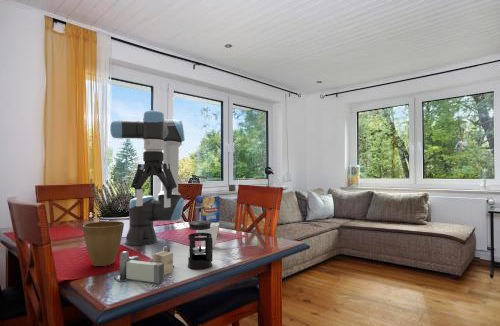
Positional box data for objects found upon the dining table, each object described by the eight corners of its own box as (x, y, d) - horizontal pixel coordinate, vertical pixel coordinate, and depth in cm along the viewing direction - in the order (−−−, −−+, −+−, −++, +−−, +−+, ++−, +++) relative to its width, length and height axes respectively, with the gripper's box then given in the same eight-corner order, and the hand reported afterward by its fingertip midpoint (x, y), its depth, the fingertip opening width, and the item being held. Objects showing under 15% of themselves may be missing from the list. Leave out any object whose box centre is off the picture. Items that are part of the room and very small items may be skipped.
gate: (126, 278, 105) (126, 261, 105) (131, 276, 108) (131, 259, 108) (159, 283, 101) (159, 265, 101) (163, 280, 104) (163, 263, 104)
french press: (181, 265, 121) (181, 206, 122) (200, 260, 128) (200, 204, 129) (200, 272, 113) (200, 209, 114) (220, 266, 120) (220, 207, 121)
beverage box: (219, 234, 177) (219, 195, 178) (203, 237, 170) (203, 197, 170) (212, 232, 182) (212, 195, 183) (196, 235, 175) (196, 196, 175)
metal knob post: (120, 282, 104) (120, 255, 104) (112, 278, 108) (112, 252, 108) (144, 276, 110) (144, 250, 110) (136, 272, 114) (136, 247, 114)
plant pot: (121, 268, 119) (122, 226, 119) (78, 271, 114) (78, 228, 115) (125, 257, 133) (125, 219, 133) (87, 260, 129) (87, 221, 129)
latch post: (164, 269, 117) (164, 248, 117) (159, 267, 119) (159, 246, 119) (174, 267, 119) (174, 246, 120) (168, 265, 122) (168, 244, 122)
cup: (215, 250, 143) (215, 226, 144) (195, 249, 145) (195, 225, 146) (221, 245, 153) (221, 222, 153) (202, 244, 155) (202, 222, 155)
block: (152, 273, 113) (152, 254, 113) (162, 269, 117) (162, 250, 117) (163, 275, 110) (163, 256, 110) (172, 271, 115) (172, 252, 115)
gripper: (121, 151, 122) (121, 206, 121) (173, 149, 111) (173, 208, 110) (136, 153, 129) (135, 204, 128) (186, 150, 118) (185, 207, 117)
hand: (153, 206), depth 119 cm, fingers open, 13 cm apart
